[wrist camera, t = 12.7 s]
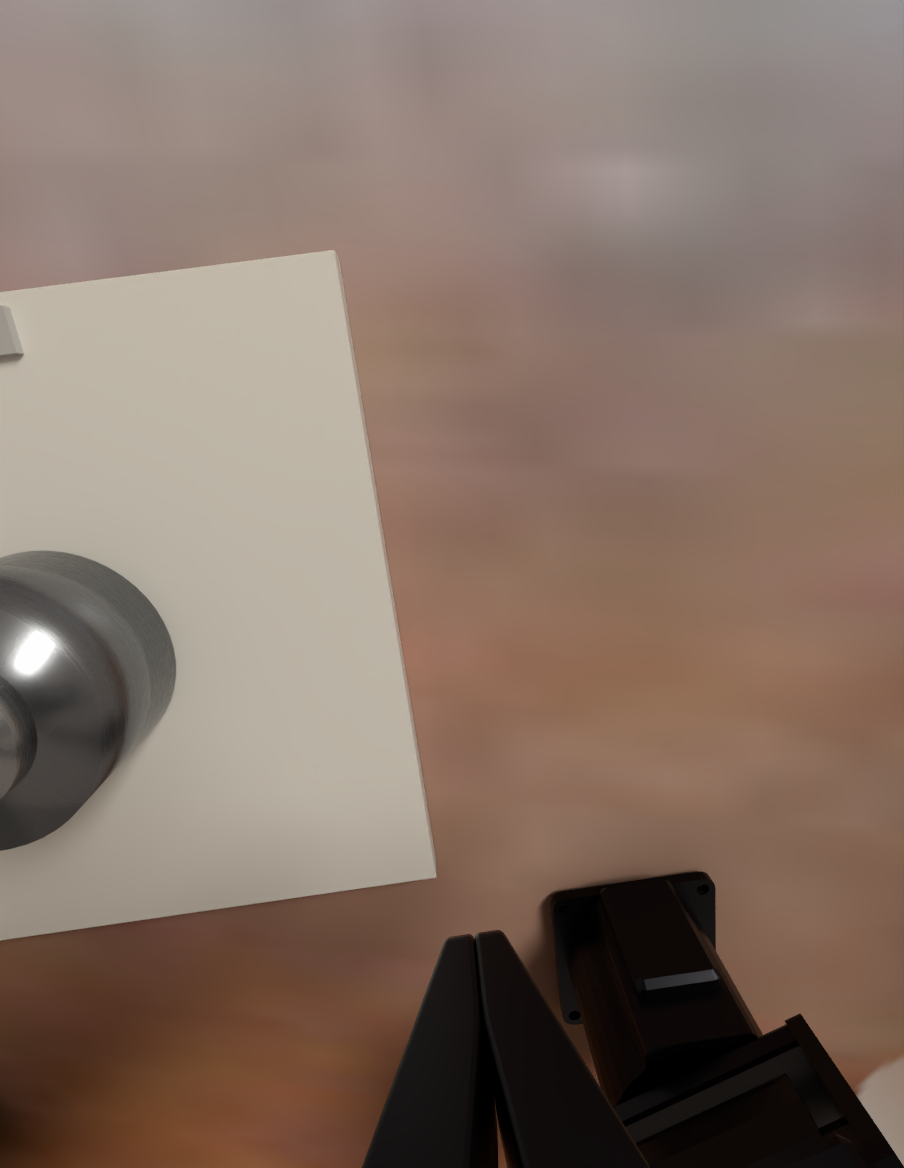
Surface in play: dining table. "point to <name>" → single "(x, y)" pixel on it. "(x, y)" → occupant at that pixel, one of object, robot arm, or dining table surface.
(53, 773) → the lever
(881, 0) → the dining table surface
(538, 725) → the dining table surface
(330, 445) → the plate
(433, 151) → the dining table surface
